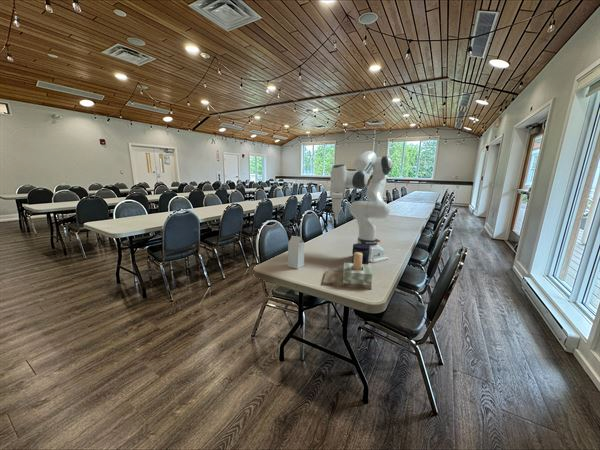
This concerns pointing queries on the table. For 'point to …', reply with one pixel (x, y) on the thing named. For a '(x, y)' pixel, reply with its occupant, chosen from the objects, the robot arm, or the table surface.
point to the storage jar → (364, 250)
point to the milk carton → (296, 252)
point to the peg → (357, 261)
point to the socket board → (339, 280)
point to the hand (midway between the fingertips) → (336, 218)
